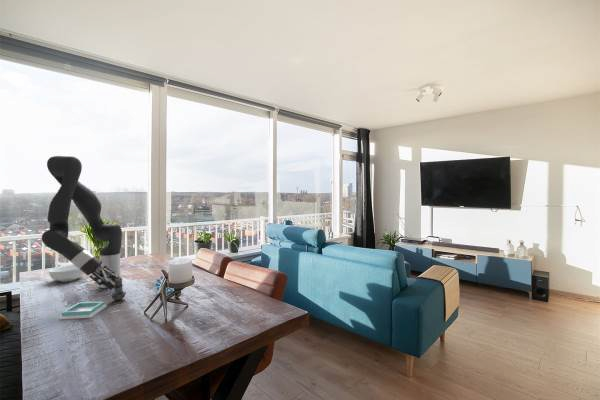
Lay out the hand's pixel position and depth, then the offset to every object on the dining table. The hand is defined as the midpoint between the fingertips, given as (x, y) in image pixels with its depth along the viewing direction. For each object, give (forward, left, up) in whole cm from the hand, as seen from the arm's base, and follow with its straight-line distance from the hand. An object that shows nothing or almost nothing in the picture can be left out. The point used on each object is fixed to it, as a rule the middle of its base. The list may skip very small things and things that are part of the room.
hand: (116, 285), depth 130 cm
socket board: (+11, -7, -8) cm, 15 cm away
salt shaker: (0, +1, -8) cm, 8 cm away
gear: (-12, +19, -8) cm, 23 cm away
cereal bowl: (-40, -45, -8) cm, 61 cm away
